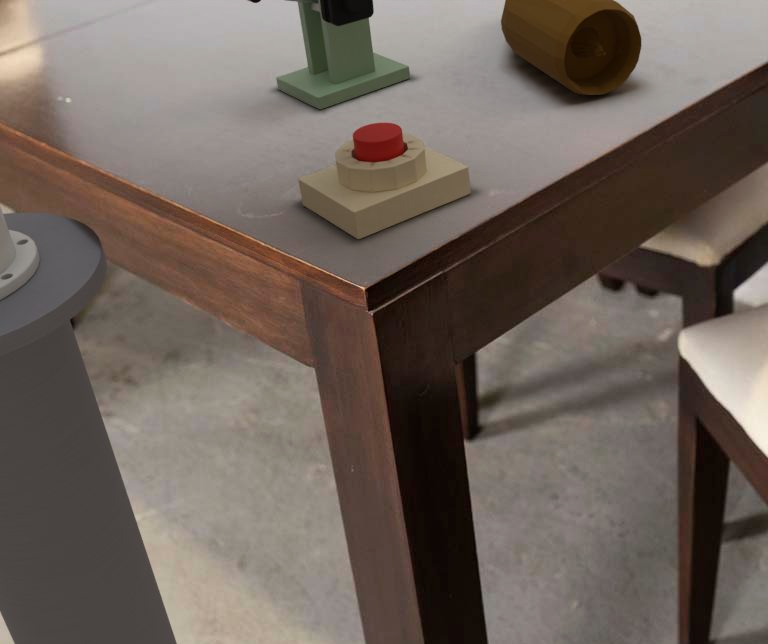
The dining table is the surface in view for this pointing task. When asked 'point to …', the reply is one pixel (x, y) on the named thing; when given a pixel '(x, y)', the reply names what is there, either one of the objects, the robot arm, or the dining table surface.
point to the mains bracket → (338, 62)
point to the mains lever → (314, 3)
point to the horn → (575, 41)
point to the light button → (378, 142)
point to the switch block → (383, 187)
